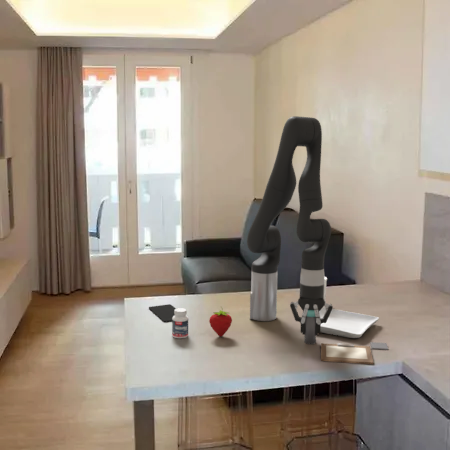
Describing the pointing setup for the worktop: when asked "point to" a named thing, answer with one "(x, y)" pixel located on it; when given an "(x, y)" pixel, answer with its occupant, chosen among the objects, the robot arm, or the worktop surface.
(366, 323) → the salad plate
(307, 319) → the marker
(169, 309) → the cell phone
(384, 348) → the coaster
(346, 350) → the clipboard
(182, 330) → the pill bottle
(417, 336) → the worktop surface
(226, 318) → the strawberry
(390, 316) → the worktop surface
